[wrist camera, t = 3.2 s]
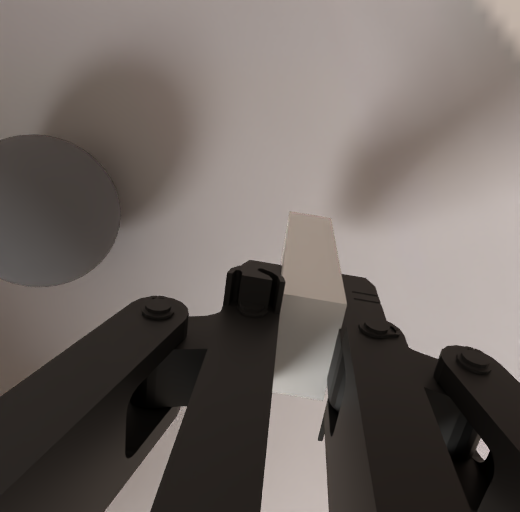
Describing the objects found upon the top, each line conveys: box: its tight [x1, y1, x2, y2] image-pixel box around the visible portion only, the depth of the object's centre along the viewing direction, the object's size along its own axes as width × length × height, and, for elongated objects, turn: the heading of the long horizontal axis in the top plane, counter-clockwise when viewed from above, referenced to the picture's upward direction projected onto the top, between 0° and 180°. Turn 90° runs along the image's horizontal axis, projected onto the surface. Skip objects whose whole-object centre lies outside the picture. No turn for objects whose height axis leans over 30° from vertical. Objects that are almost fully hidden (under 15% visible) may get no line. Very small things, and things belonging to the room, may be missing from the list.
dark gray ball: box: [0, 135, 120, 287], centre depth 16 cm, size 6×6×6 cm
